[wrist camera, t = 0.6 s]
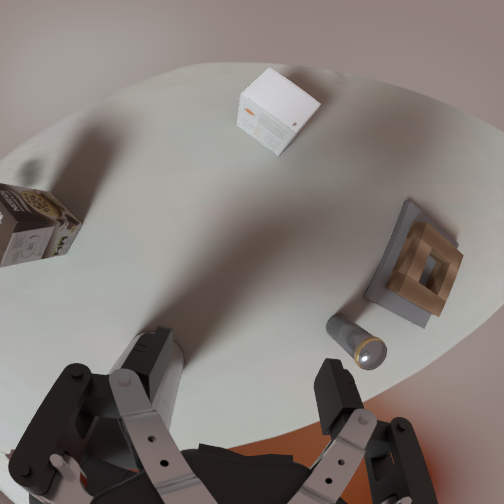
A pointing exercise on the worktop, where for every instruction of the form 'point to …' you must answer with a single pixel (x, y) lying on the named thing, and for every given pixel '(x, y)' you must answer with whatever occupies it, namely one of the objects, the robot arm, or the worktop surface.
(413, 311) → the base
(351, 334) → the gold-rimmed metal cylinder
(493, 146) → the worktop surface
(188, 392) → the worktop surface
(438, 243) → the socket block
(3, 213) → the coffee box
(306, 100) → the small box
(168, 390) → the robot arm
